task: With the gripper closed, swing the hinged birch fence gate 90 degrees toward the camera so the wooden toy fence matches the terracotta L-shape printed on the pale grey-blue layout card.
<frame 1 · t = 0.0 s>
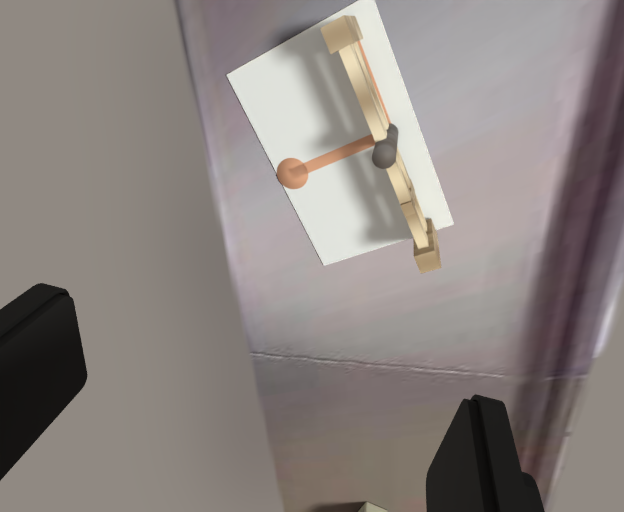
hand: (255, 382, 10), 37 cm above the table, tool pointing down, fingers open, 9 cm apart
fence gate: (411, 206, 41), point 4 cm above the table, hinge at 0.0°
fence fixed: (370, 84, 41), resting on layout card
layout card: (344, 151, 44), on the table
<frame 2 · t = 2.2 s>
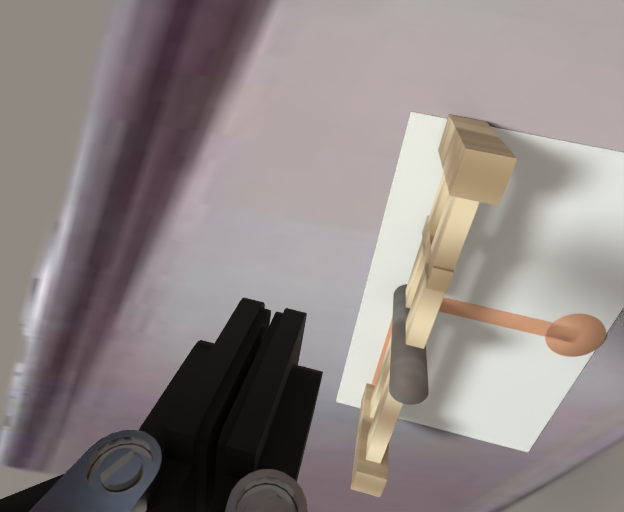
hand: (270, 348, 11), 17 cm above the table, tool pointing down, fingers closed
fence gate: (441, 235, 22), point 4 cm above the table, hinge at 0.0°
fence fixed: (390, 347, 32), resting on layout card
layout card: (479, 311, 29), on the table
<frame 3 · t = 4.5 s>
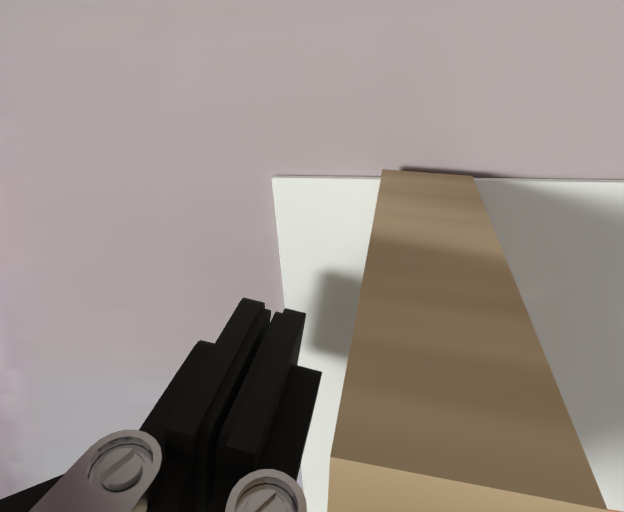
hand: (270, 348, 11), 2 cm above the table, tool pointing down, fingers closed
fence gate: (395, 471, 9), point 4 cm above the table, hinge at -3.8°, touching gripper
layout card: (519, 500, 15), on the table
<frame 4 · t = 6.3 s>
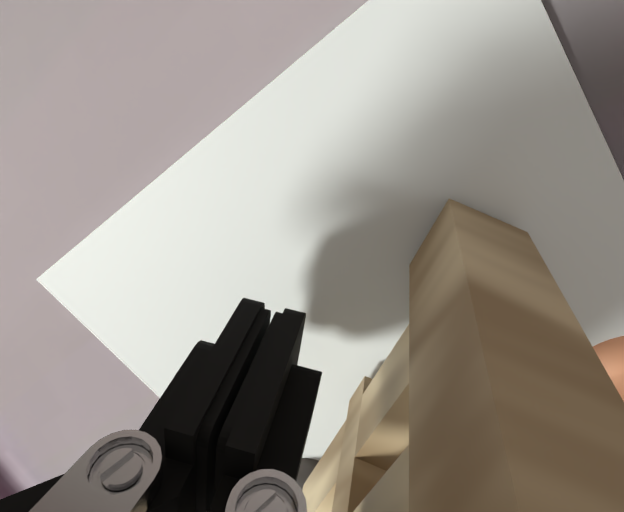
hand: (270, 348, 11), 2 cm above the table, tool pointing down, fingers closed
fence gate: (378, 486, 9), point 4 cm above the table, hinge at -57.1°, touching gripper
layout card: (426, 437, 14), on the table
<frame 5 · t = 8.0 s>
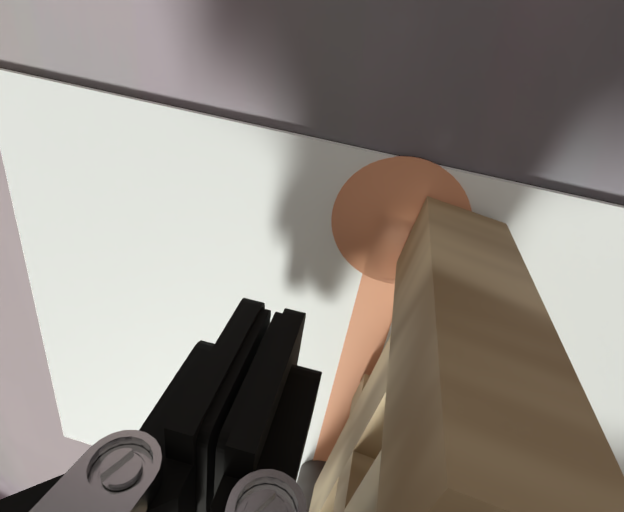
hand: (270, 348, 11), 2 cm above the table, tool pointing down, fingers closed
fence gate: (374, 476, 10), point 4 cm above the table, hinge at -96.6°, touching gripper
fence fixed: (449, 509, 16), resting on layout card
layout card: (350, 385, 14), on the table
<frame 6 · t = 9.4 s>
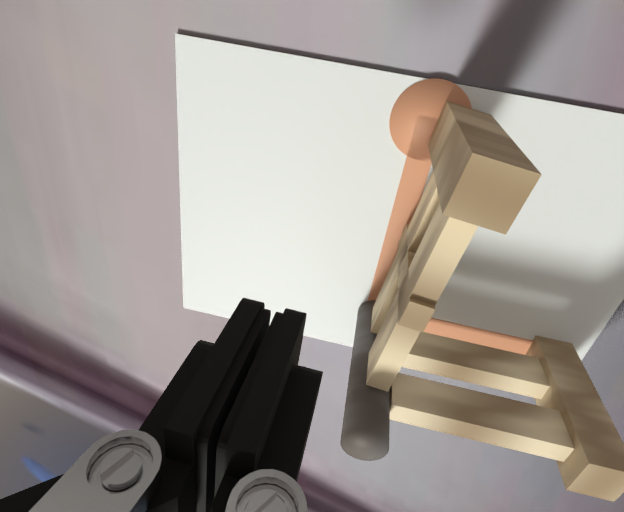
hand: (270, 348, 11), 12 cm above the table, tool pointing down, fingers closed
fence gate: (422, 255, 18), point 4 cm above the table, hinge at -96.4°
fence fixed: (458, 330, 25), resting on layout card
layout card: (395, 239, 22), on the table
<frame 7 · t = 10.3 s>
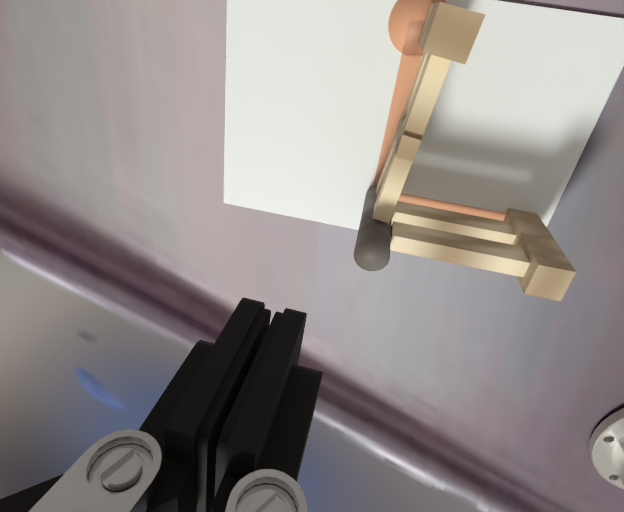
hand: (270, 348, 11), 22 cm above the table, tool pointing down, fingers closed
fence gate: (413, 117, 24), point 4 cm above the table, hinge at -96.4°
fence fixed: (446, 208, 31), resting on layout card
layout card: (394, 128, 28), on the table
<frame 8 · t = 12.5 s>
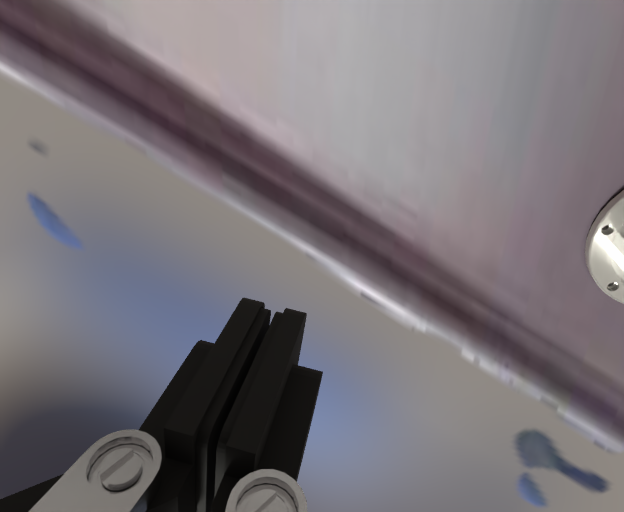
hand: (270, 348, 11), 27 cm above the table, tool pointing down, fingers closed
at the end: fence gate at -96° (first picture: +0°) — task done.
